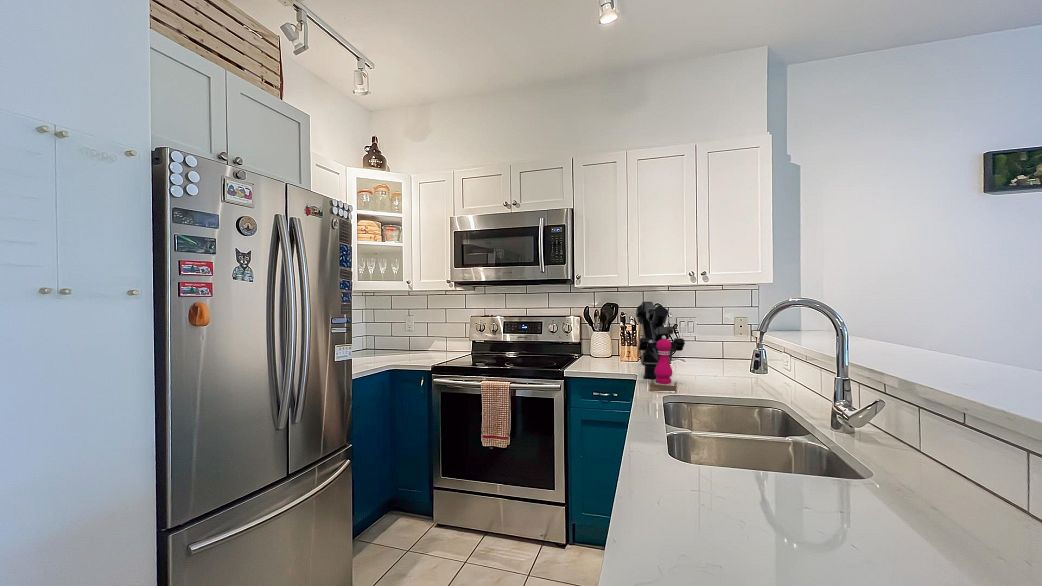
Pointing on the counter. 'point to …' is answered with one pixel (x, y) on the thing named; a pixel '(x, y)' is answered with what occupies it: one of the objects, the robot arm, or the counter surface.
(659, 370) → the pepper mill
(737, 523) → the counter surface
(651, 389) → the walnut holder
